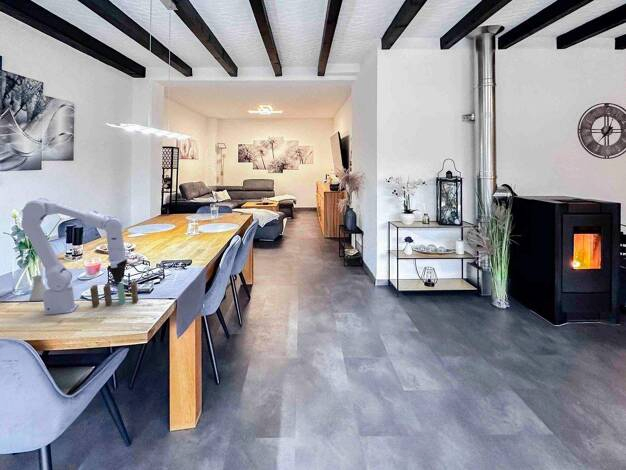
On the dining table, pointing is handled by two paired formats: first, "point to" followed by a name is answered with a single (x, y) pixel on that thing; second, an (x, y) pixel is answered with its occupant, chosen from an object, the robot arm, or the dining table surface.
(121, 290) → the domino
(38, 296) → the flask
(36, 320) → the dining table surface
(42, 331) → the dining table surface
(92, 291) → the domino
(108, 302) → the domino
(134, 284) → the domino
